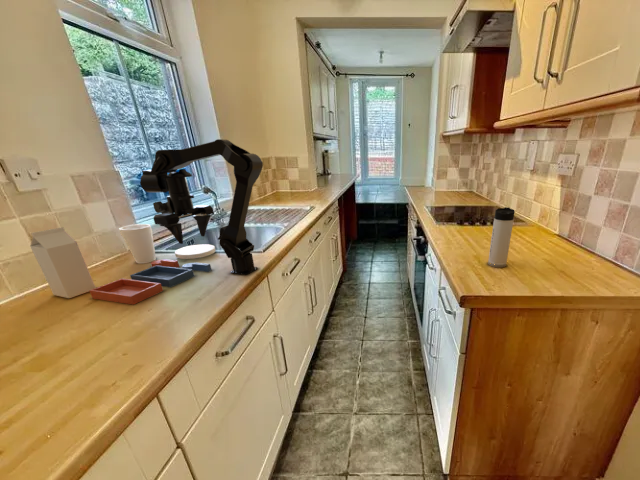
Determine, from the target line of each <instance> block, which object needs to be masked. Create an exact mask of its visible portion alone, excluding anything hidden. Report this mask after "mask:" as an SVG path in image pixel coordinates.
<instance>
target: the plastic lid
mask: <svg viewBox="0 0 640 480" xmlns="http://www.w3.org/2000/svg"><path fill="white" fill-rule="evenodd" d="M215 252H216V246H215V245H214V244H208V243H207V244H205V243H201V244H200V243H199V244H191V245H187V246H182V247H180V248H177V249H176V250H175V251H174V255H175V258H177V259H182V260H190V259H192V260H193V259H198V258H203V257H204V258H205V257H208V256H210V255H213V254H215Z"/></svg>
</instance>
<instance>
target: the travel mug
mask: <svg viewBox="0 0 640 480" xmlns="http://www.w3.org/2000/svg"><path fill="white" fill-rule="evenodd" d="M515 212H516V211H515V210H514V209H513V208H511V207H507V206H504V207H500V208H497V209H495V211H494V218H493V223H492V231H491V237H490V238H491V239H490V246H489V253H488V260H487V264H488V266H490V267H491V268H500V269H501V268H505V267H506V266H507V263H508V262H507V261H508V257H509V250H510V245H511V240H512V239H511V238H512V231H513V227H514V226H513V225H514V220H515V218H514V217H515ZM490 263H491V264H490ZM494 264H495V265H494Z"/></svg>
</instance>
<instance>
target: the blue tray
mask: <svg viewBox="0 0 640 480" xmlns="http://www.w3.org/2000/svg"><path fill="white" fill-rule="evenodd" d="M129 276H130V277H129V278H130V279H131V280H138V281H146V282H154V283H161V286H162V287H164V288H165V287H166V288H172V287H175V286H177V285H179V284H181V283H184V282H186V281H187V280H189V279H192V278H194V277H195V273H194V270H193V269H184V268H182V267H178V268H175V267H166V266H157V265H156V266H153V267H152V266H151V267H148V268H145V269H143V270H141V271H138V272H134V273H132V274H129Z"/></svg>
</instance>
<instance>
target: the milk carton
mask: <svg viewBox="0 0 640 480" xmlns="http://www.w3.org/2000/svg"><path fill="white" fill-rule="evenodd" d="M30 234H31V237H32V238H31V242H30V246H29V247H30V249H31V251H32V253H33V255H34V257H35V260H36V262H37V263H38V266H39V268H40V269H41V272H42V274H43V276H44V279H45V281H46V282H47V284H48V286H49V289H50V290H51V292H52V295H53V296H57V297H62V298H66V299H72V298H75V297H78V296H81V295H82V294H86V293H88V292H89V293H90V291H89V290H92V289H95V288H97V287H96V285H95V283H94V279H93V278H92V275H91V273H90V271H89V268H88V266H87V263H86V261H85V258H84V255H83V253H82V251H81V249H80V247H79V244H78V242H77V241H76V240H75V238H73V236H71V235H70V234H69V233H68V232H67V231H66V230H65V228H64V227H63V226H62V227H61V226H60V227H56V228H50V229H46V230H40V231H34V232H30Z"/></svg>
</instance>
